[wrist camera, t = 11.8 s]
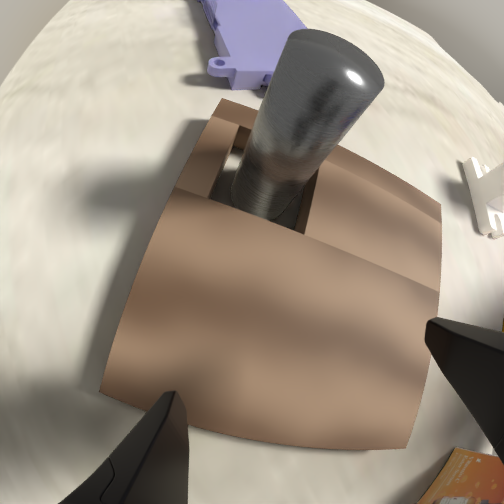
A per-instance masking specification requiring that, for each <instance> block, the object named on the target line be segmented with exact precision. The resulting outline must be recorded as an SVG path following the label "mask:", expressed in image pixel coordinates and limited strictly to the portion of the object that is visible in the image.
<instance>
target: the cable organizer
mask: <svg viewBox="0 0 504 504" xmlns="http://www.w3.org/2000/svg"><path fill="white" fill-rule="evenodd" d="M462 165H463V169H464V172H465V175H466V179H467V182H468V186H469V189H470V193H471V197H472V201H473V205H474V210H475V214H476V219H477V224H478V229H479V231H480V233H481V234H484V235H487V234H489V233H491V234H492V238H494V239H497V238H500V237H502V236H504V214H503V213H504V162H503V163H502V164H500V165H499V166H497V167H496V168H494V169H492V170H491V171H490V169H489V168H488V167H487V166H486V165H482V166H481V167H479V164H478V161H477V159H475V158H474V157H471V158H469V159H468V160H467V161H465V162H464V163H463V164H462Z"/></svg>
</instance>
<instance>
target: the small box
mask: <svg viewBox="0 0 504 504" xmlns="http://www.w3.org/2000/svg"><path fill="white" fill-rule="evenodd" d="M416 504H504V465H503V463H502V462H501V460H500V458H499V457H498V456H494V455H490V454H485V453H480V452H476V451H471V450H467V449H463V448H459V447H455V449H454V451H453V453H452V454H451V456H450V458H449V460H448V461H447V463H446V464H445V466H444V467H443V469H442V470H441V472H440V473H439V475H438V476H437V478H436V479H435V481H434V482H433V483H432V485H431V486H430V487H429V489H428V490H427V491H426V493H425V494H424V495H423V496H422V498H421V499H420V500H419V501H418V502H417V503H416Z"/></svg>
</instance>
